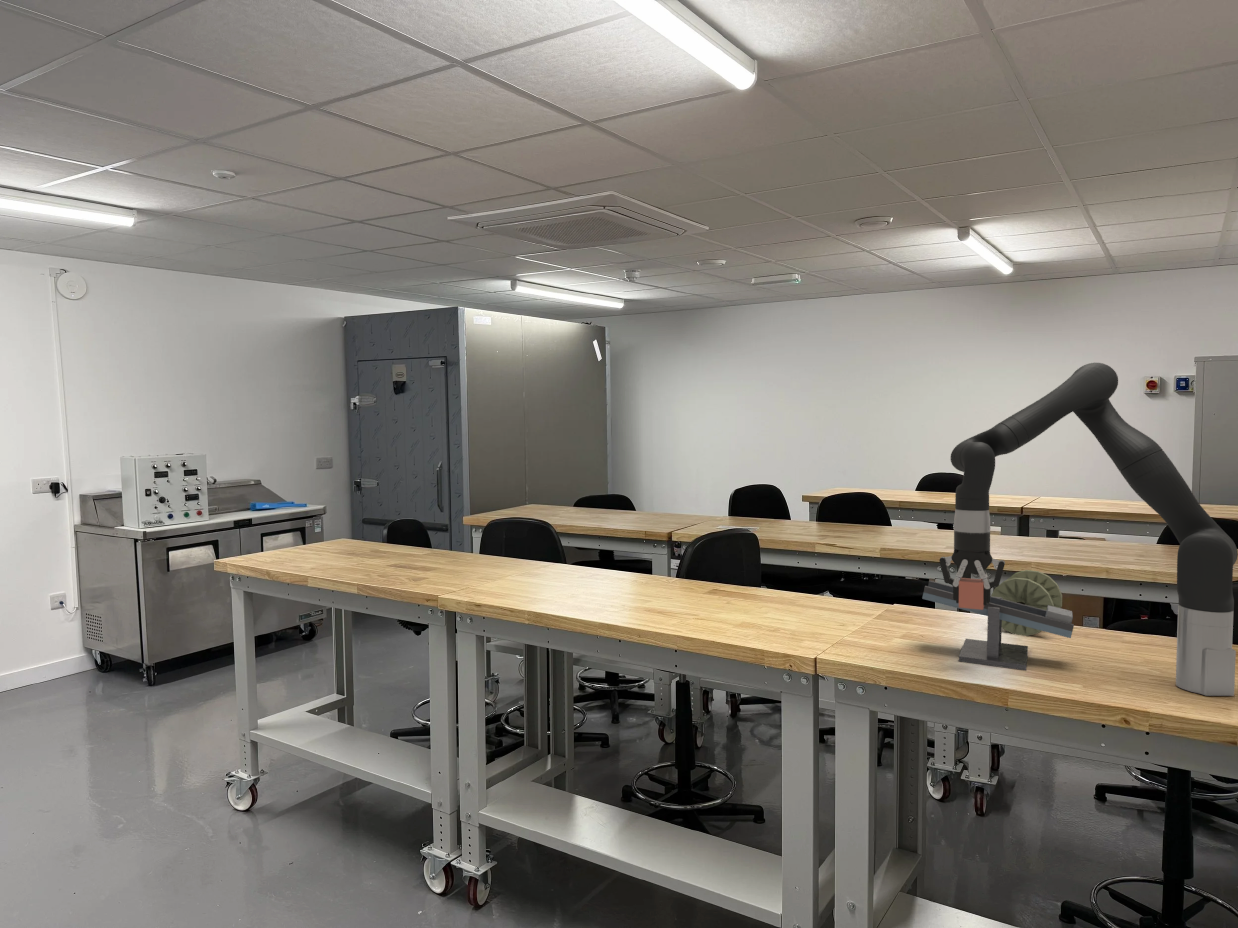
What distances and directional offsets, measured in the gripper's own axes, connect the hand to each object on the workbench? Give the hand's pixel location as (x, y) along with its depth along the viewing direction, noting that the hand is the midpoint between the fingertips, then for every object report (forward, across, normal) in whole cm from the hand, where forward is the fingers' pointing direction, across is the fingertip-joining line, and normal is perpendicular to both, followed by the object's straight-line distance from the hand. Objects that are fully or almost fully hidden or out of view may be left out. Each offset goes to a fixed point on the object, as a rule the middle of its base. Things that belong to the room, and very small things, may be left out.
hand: (971, 603), depth 177 cm
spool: (+15, -10, -46) cm, 49 cm away
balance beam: (+4, -4, -12) cm, 13 cm away
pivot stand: (+15, -4, -12) cm, 19 cm away
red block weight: (+1, 0, 0) cm, 1 cm away
